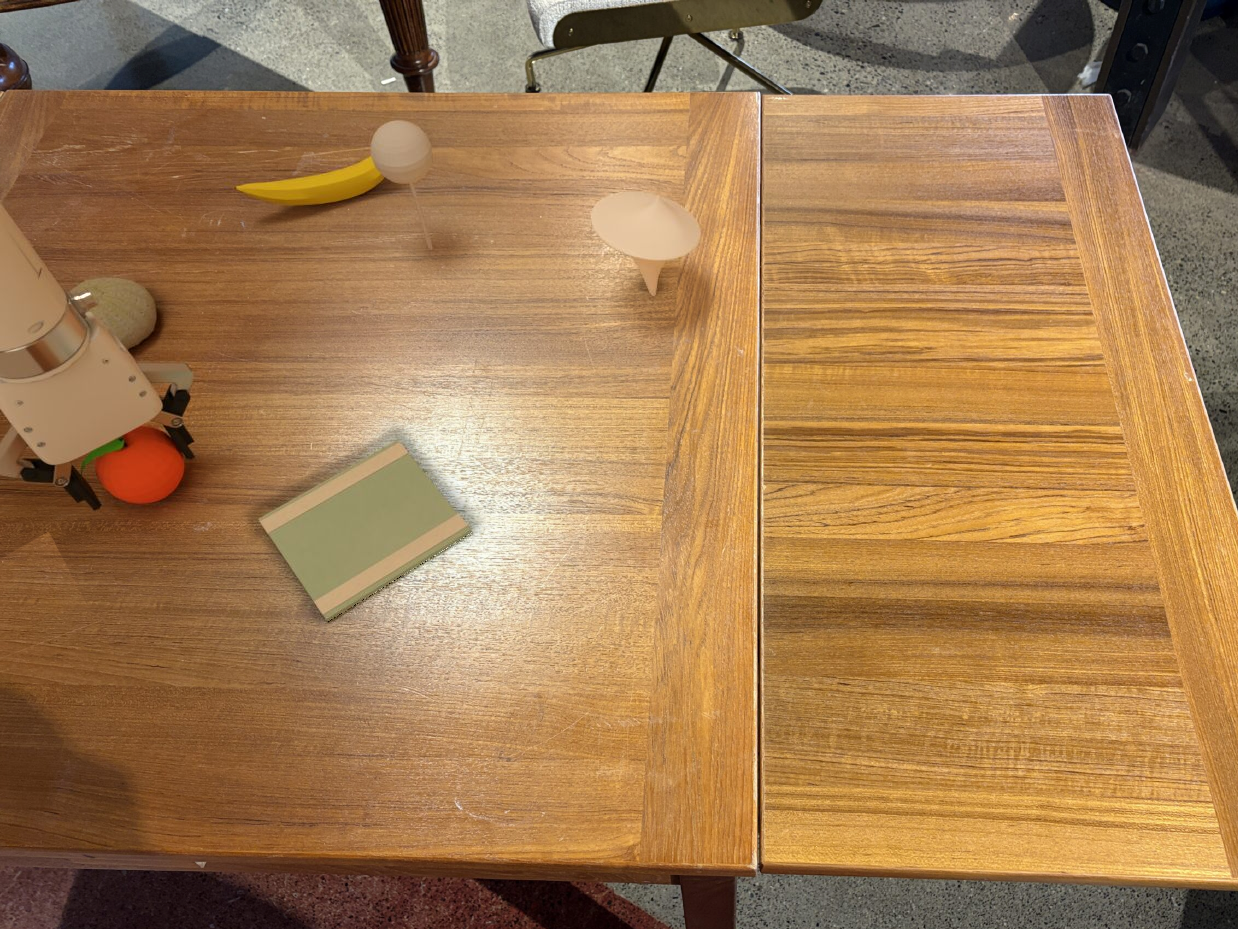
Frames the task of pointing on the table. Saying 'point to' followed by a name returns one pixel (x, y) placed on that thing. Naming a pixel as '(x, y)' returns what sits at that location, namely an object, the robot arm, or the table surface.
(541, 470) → the table surface
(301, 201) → the banana
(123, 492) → the clementine
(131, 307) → the sea urchin shell
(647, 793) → the table surface
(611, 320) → the table surface
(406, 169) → the lollipop
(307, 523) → the towel
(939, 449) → the table surface
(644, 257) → the mushroom
